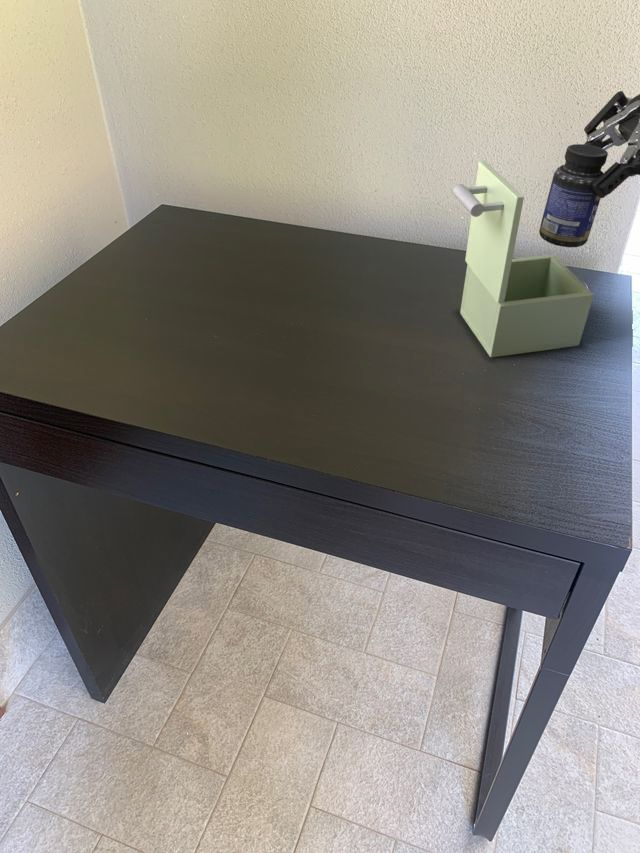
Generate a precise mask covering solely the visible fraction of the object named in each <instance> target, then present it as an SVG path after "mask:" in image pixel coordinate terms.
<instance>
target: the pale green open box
mask: <svg viewBox="0 0 640 853" xmlns="http://www.w3.org/2000/svg"><path fill="white" fill-rule="evenodd" d="M466 264H467V263H466ZM594 296H595V294H594V293H593V292H592V291H591V290H590V289H589V288H588V287H587V286H586V285H585V284H584V283H583V282H582V281H581V280H580V279H579V278H578V277H577V276H576V275H575V274H574V273H573V272H572V271H571V270H570V269H569V268H568V267H567V266H566V265H565V264H564V263H563V262H562V261H561V260H560V259H559V257H557V256H556V255H555V254H554V253H552V254H551V253H550V254H544V255H535V256H525V257H518V258H512V263H511V268H510V274H509V279H508V284H507V290H506V295H505V300H504V302H503V303H498V302H497V301H496V300H495V299H494V297H493V296H492V295H491V293H490V292H489V291H488V290H487V288H486V287H485V286H484V284H483V283H482V282H481V281H480V279H479V278H478V277H477V275H476V274H475V273H474V272H473V270H472V269H471V268H470V266H469V265H468V264H467V265H466V271H465V278H464V285H463V292H462V299H461V306H460V311H459V314H460V315H461V317H462V318H463V320H464V321H465V322H466V324H467V325H468V327H469V329H470V330H471V331H472V333H473V334H474V335H475V337H476V338H477V340H478V341H479V343H480V344H481V346H482V348H483V349H484V350H485V352H486V353H487V355H488V357H489V358H499V357H505V356H513V355H519V354H526V353H528V354H529V353H534V352H541V351H548V350H556V349H565V348H572V347H579V346H580V344H581V340H582V337H583V333H584V330H585V326H586V324H587V320H588V317H589V313H590V310H591V307H592V303H593V298H594Z"/></svg>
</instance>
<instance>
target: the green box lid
mask: <svg viewBox="0 0 640 853" xmlns="http://www.w3.org/2000/svg"><path fill="white" fill-rule="evenodd" d="M477 166H478V167H477V174H476V180H475V181H476V182H475V186H466V185H465V184H462V183H458V184H456V185H455V186H454V187H453V190H452V194H453V196H454V197H455V199H457V200H458V201H459V202H460V204H461V205H462V206H463V207H464V208H465V209H466V211H467V212H468V213H469V214H470V224H469V230H468V237H467V246H466V253H465V259H464V262H465V263H466V264H468V265H469V266H470V268H471V269H472V270H473V272H474V273H475V274H476V275H477V277H478V278H479V279H480V281H481V282H482V283H483V284H484V286H485V287H486V288H487V290H488V291H489V292H490V293H491V295H492V296H493V297H494V299H495V300H496V301H497V302H498V303H503V302H504V300H505V295H506V290H507V284H508V279H509V274H510V268H511V263H512V259H514V253H515V252H514V251H515V246H516V241H517V237H518V231H519V226H520V220H521V215H522V210H523V206H524V205H523V204H524V200H525V197H524V195H523V194H522V193H521V192H520V191H519V190H517V189H516V187H514V186H513V184H511V183H510V182H509V181H508V180H507V179H506V178H505V177H504V176H502V175H501V174H500V173H499V172H498V171H497V170H496V169H495V168H494V167H493V166H492V165H491V164H490V163H489V162H488V161H486V160H479V161H478V165H477Z"/></svg>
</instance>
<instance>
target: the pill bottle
mask: <svg viewBox="0 0 640 853" xmlns="http://www.w3.org/2000/svg"><path fill="white" fill-rule="evenodd" d="M584 144H585V143H583V144H582V143H577V144H576V143H574V144H570V145H568V146H567V148H566V151H565V154H564V160H565V162H564V164H562V165H560V166H558V167H557V168H556V169H555V171H554V172H553V176H552V180H551V184H550V187H549V192H548V196H547V199H546V202H545V206H544V211H543V214H542V218H541V221H540V226H539V230H538V233H539V236H540V238H541V239H542V240H544V241H545V242H547V243H549V244H551V245H554V246H557V247H562V248H579V247H582V246H584V245H586V243H587V242H588V241H589V237H590V234H591V231H592V228H593V224H594V222H595V218H596V215H597V212H598V208H599V205H600V202H601V199H602V198H600V197H598V196H597V195H596V194H595V192H594V191H593V190H592V188H591V185H592V184H593V183H594V182H595V181H596V180H597V179H598V178H599V177H600V176H601V175H602V174H603V173H604V171H602V167H604V166H605V164H607V159H608V155H609V153H608V150H604V149H602V148H599V147H596V146H592V145H584Z"/></svg>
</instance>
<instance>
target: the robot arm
mask: <svg viewBox="0 0 640 853" xmlns="http://www.w3.org/2000/svg"><path fill="white" fill-rule="evenodd" d="M601 123H603V126H601V127H599V126H600V124H601ZM617 126H618V128H616V127H617ZM598 127H599V128H598ZM597 128H598V129H597ZM583 132H584V133H585V134H586V141H585V143H583V144H584V145H592V146H596V147H599V148H602V149H604V150H606V151H608V150H609V149H610V148H612V147H614V146H616V147H621V146H622V145H624V144H626V143H627V147H626V149H625V150H624V152H623V154H622V155H621V157H620V159H619V162H618V161H615V162H614V163H613V164H612V165H611V166H609V168H607V169H606V171H603V174H602V175H601V176H600V177H599V178H598V179H597V180H596V181H595V182H594V183H593V184H592V185H591V188H592V190H593V191H594V192H595V194H596V195H597V196H598V197H600V198H601V199H604V198H606V196H608V195H610V194H611V193H613V192H614V191H615V190H617V189H618V187H619V186H621V185H622V184H623V183H624V182H625V181H626V180H627V179H628V178H630V177H631V178H632V177H635V176H640V93H639V94H637V95H635V96H634V97H632V98H630V97H627V96H626V94H625V93H624V91H622V90H620V91H617V92H616V93H615V94H613V96H612V97H611V98H610V100H609V101H607V102H606V104H605V105H604V106H603V107H602V108H601V109H600V111H598V113H597V114H595V116H594V117H593V118H592V119H591V120H590V121H589V122H588V123H587V125H585V127H584V128H583ZM607 136H609V137H608V138H607V139H605V138H606V137H607Z"/></svg>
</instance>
